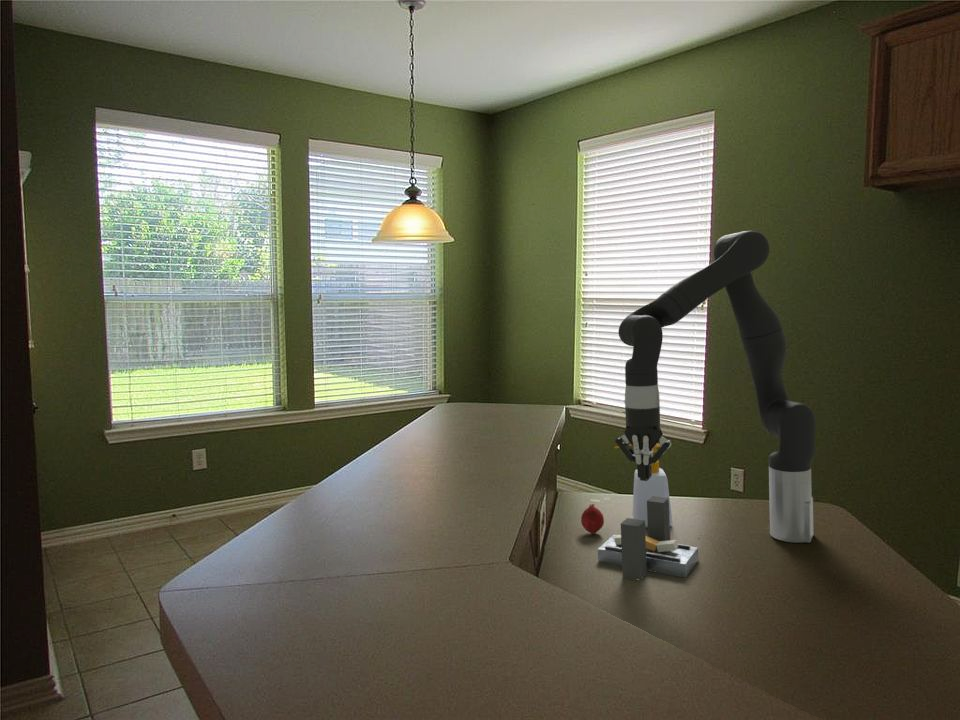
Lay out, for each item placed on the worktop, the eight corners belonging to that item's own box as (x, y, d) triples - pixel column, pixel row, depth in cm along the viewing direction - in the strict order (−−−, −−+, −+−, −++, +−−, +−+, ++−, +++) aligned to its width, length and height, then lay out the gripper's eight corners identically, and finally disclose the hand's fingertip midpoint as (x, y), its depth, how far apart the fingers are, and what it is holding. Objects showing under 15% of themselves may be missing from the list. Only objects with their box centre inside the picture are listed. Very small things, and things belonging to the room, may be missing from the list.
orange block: (657, 547, 147) (659, 541, 146) (654, 551, 145) (656, 545, 144) (641, 540, 149) (642, 534, 148) (637, 544, 147) (639, 538, 146)
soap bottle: (616, 517, 177) (612, 438, 175) (668, 516, 175) (665, 436, 173) (618, 529, 168) (615, 446, 166) (673, 529, 166) (670, 444, 164)
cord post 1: (646, 573, 140) (644, 520, 139) (640, 580, 137) (638, 526, 136) (629, 570, 143) (627, 518, 142) (622, 577, 139) (620, 523, 138)
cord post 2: (670, 546, 155) (668, 497, 153) (665, 552, 151) (663, 502, 150) (654, 543, 157) (652, 496, 156) (648, 549, 153) (646, 500, 152)
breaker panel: (698, 560, 146) (697, 545, 145) (685, 577, 137) (685, 561, 137) (614, 546, 157) (613, 532, 156) (598, 561, 148) (597, 546, 148)
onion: (604, 538, 162) (602, 507, 161) (581, 537, 163) (579, 507, 163) (604, 530, 168) (603, 500, 167) (582, 529, 169) (580, 500, 168)
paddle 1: (635, 539, 149) (633, 533, 149) (631, 543, 147) (629, 536, 147) (619, 541, 152) (617, 534, 152) (615, 544, 150) (613, 538, 150)
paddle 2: (678, 546, 144) (676, 539, 144) (675, 550, 142) (673, 543, 142) (661, 548, 146) (659, 541, 146) (658, 552, 144) (656, 545, 144)
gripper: (676, 403, 143) (678, 478, 145) (620, 400, 150) (622, 472, 152) (666, 408, 137) (668, 487, 138) (608, 405, 144) (610, 481, 146)
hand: (644, 479), depth 145 cm, fingers closed
